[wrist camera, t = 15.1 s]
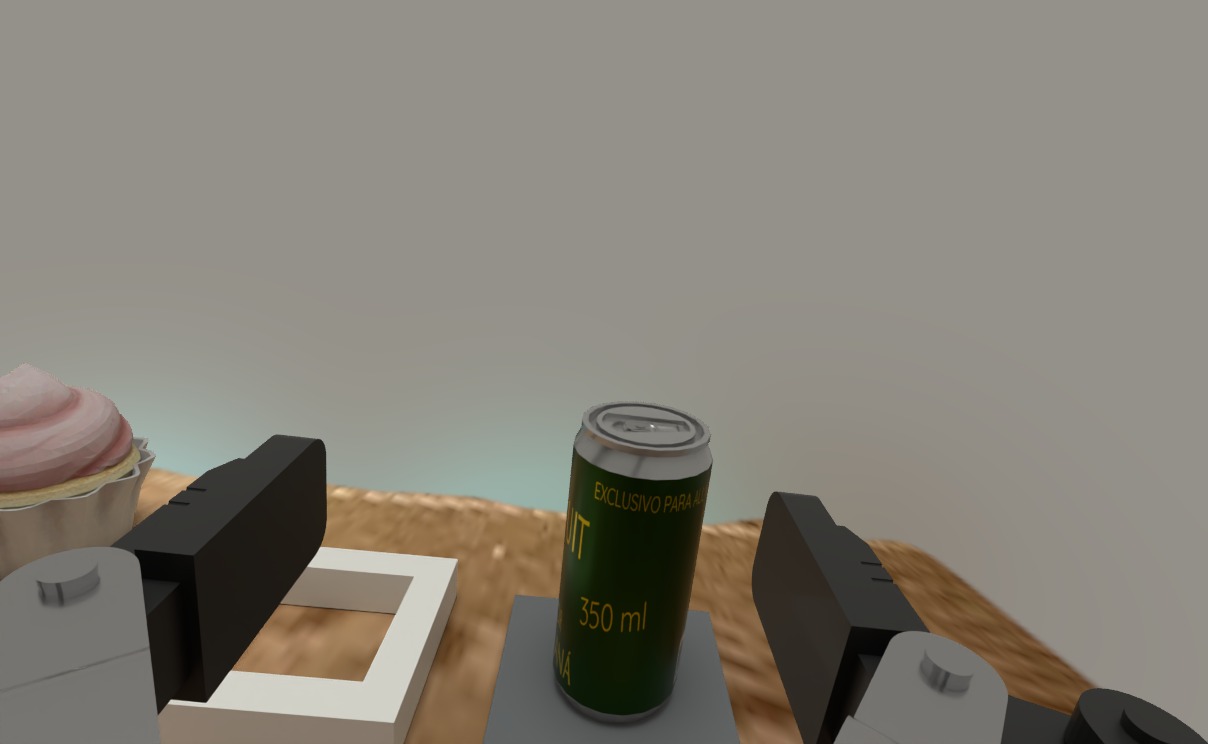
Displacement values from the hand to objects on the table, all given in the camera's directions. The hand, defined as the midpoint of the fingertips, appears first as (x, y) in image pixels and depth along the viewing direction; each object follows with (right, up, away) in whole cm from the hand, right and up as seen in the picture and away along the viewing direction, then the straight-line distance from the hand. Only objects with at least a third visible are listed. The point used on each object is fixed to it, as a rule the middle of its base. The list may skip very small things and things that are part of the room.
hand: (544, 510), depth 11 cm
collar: (-11, -10, +16) cm, 22 cm away
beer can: (+1, -11, +16) cm, 20 cm away
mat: (+1, -11, +16) cm, 20 cm away
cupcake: (-27, -7, +21) cm, 35 cm away
